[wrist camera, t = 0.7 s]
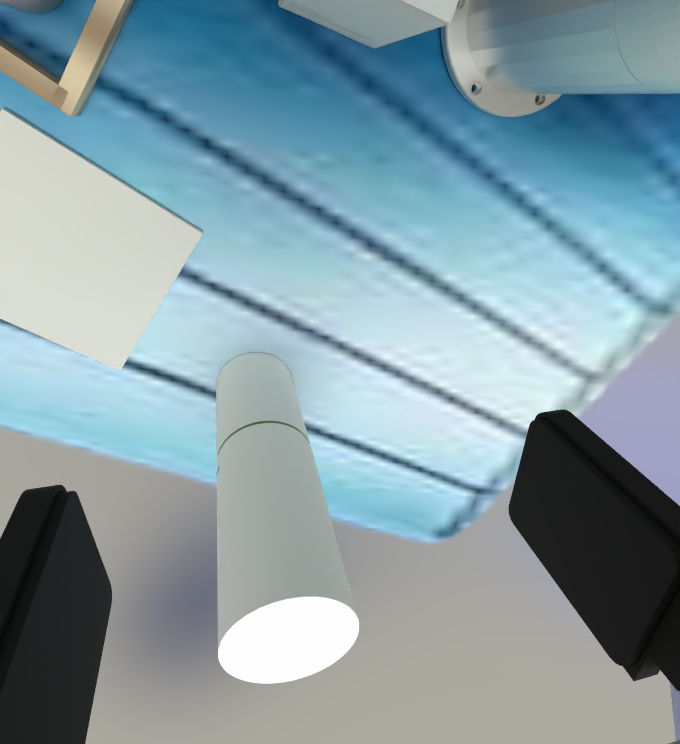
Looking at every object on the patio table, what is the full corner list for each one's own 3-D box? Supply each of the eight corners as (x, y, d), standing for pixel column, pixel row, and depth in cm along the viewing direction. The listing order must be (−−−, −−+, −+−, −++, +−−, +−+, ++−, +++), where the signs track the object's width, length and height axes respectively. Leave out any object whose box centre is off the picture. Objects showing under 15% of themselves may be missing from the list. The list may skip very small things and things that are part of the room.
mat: (5, 108, 30) (2, 108, 30) (202, 231, 37) (202, 233, 36) (-69, 283, 34) (-73, 286, 34) (121, 367, 41) (119, 370, 40)
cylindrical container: (213, 415, 45) (213, 691, 24) (219, 349, 42) (223, 603, 21) (286, 417, 47) (344, 674, 26) (297, 355, 44) (372, 590, 23)
